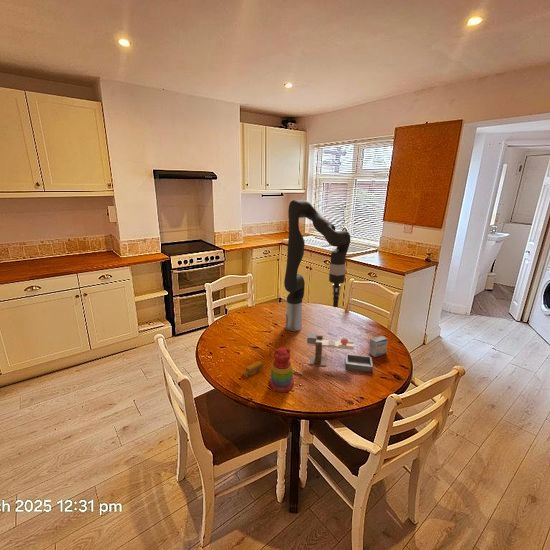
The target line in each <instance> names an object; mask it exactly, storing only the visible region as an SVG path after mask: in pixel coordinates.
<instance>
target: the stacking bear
mask: <svg viewBox="0 0 550 550" xmlns="http://www.w3.org/2000/svg"><path fill="white" fill-rule="evenodd" d="M273 358H274V360H273V362H272V365H271V369H270V377H269V380H268V381H269V386H270V388H272V390H274V391H275V392H277V393H287V392H289V391H291V389H293V388H294V385H295V380H294V369H293V365H292V362H291V360H290V359H291V350H290V348H285V347H279V348H277V349H275V350H274V352H273Z"/></svg>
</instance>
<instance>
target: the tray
mask: <svg viewBox="0 0 550 550" xmlns="http://www.w3.org/2000/svg"><path fill="white" fill-rule="evenodd" d="M344 359H345V370H347V371H348V370H349V371H354V372H355V371H356V372H364V373H371V374H372V373H373V370H374V366H373V365H374V364H373V358H372V355H363V354H361V355H360V354H354V353H353V354H352V353H345V358H344Z"/></svg>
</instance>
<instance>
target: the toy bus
mask: <svg viewBox="0 0 550 550" xmlns="http://www.w3.org/2000/svg"><path fill="white" fill-rule="evenodd" d="M263 367H264V365H263V362H262V361H260V360H258V361H255V362H253V363H252V364H249V365H247V366H245V370H244V371H243V372H242V373H241V374H242V377H245V378H250V377H252V375H255V374H256V373H259V372H260V371H262V370H263Z"/></svg>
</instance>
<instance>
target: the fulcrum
mask: <svg viewBox="0 0 550 550" xmlns="http://www.w3.org/2000/svg"><path fill="white" fill-rule="evenodd" d="M316 339H321V340H324V335H320V334H317V338H316ZM314 350H315V351H314V352H315V354H310V359H309V365H310V366H317V367H318V366H319V367H327V362H328V361H327V360H328V356H326V355H323V347H322V342H316V346H315V349H314Z"/></svg>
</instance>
